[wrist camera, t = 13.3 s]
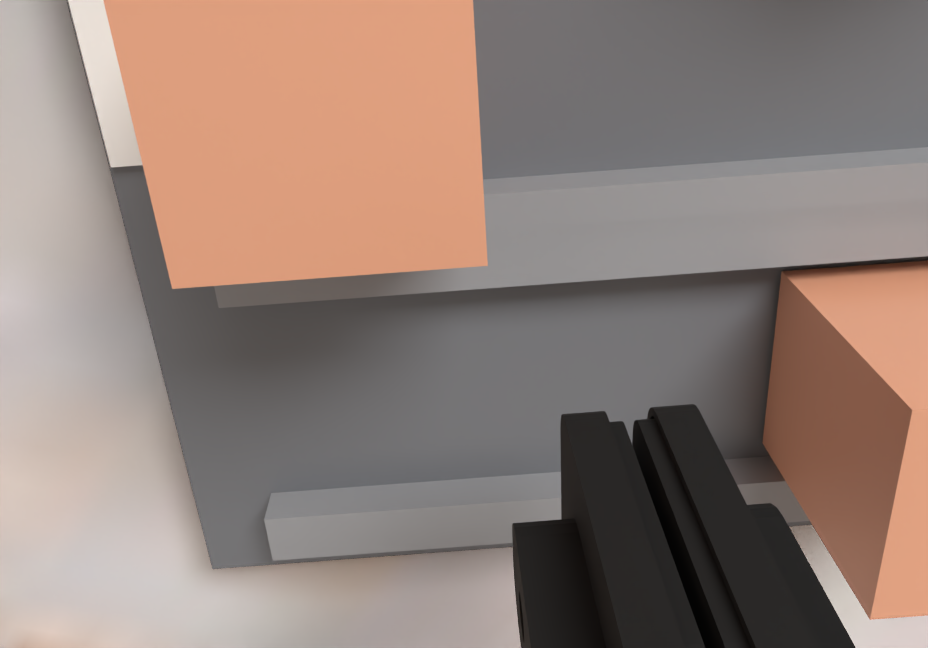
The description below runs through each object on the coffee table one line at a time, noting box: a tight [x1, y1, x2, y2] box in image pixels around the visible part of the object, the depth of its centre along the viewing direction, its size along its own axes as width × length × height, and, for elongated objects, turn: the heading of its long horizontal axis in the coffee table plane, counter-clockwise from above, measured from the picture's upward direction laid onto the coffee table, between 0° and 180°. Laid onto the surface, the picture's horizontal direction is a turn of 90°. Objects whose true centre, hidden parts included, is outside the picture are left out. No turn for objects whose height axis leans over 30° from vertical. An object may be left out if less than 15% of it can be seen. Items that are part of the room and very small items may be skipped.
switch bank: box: [67, 0, 928, 569], centre depth 13 cm, size 20×16×2 cm
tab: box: [103, 0, 488, 289], centre depth 11 cm, size 4×4×4 cm
